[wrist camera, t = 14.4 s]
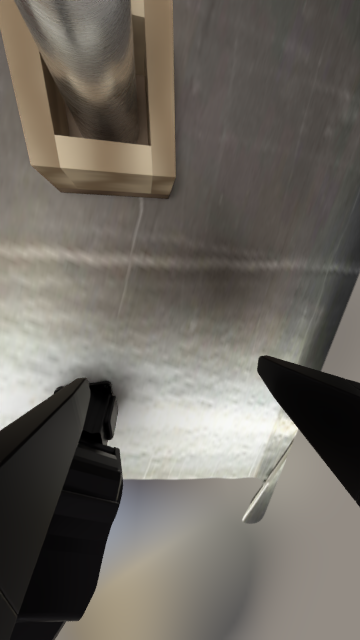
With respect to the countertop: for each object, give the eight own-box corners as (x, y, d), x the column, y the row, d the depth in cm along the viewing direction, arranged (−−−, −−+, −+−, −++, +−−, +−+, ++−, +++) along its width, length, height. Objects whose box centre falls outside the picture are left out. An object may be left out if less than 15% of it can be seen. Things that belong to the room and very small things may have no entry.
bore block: (61, 192, 16) (30, 165, 12) (31, 35, 13) (-24, -77, 9) (168, 198, 18) (175, 177, 13) (164, 63, 15) (172, -19, 11)
